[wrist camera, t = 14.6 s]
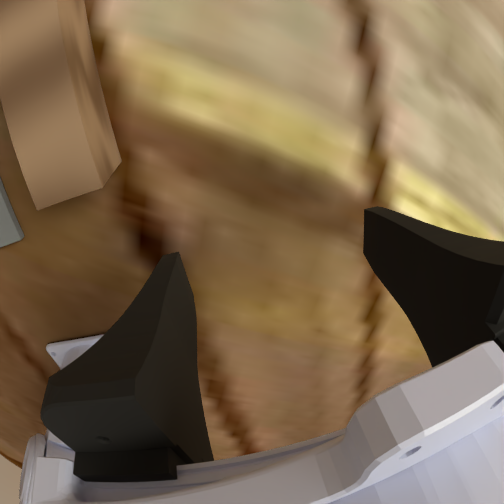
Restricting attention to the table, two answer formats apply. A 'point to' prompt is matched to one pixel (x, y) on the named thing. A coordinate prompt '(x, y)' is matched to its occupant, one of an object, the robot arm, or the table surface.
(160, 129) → the table surface
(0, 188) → the slate mat
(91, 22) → the table surface
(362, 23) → the table surface
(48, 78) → the brown wooden block
